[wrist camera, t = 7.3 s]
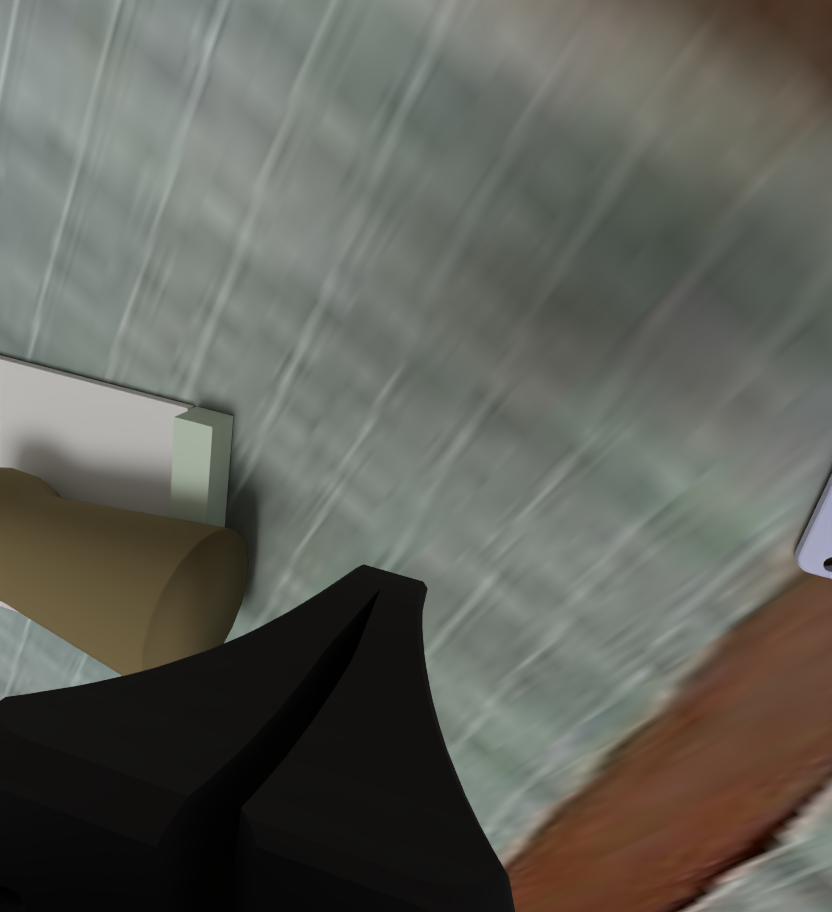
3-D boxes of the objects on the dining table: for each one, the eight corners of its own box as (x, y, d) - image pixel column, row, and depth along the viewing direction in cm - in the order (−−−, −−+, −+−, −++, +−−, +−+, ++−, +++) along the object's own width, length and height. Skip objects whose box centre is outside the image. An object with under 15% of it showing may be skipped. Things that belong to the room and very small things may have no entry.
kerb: (233, 416, 23) (212, 427, 22) (213, 668, 27) (194, 691, 26) (197, 406, 23) (174, 416, 22) (182, 659, 28) (162, 680, 26)
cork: (110, 689, 18) (-168, 573, 20) (196, 704, 23) (-31, 611, 26) (207, 502, 20) (-53, 418, 23) (264, 556, 26) (50, 483, 28)
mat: (193, 405, 23) (187, 408, 23) (179, 657, 28) (174, 663, 27) (-73, 336, 25) (-83, 337, 25) (-47, 583, 29) (-55, 588, 29)
